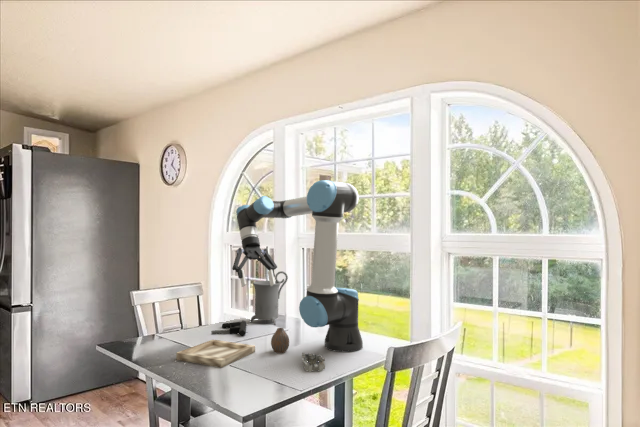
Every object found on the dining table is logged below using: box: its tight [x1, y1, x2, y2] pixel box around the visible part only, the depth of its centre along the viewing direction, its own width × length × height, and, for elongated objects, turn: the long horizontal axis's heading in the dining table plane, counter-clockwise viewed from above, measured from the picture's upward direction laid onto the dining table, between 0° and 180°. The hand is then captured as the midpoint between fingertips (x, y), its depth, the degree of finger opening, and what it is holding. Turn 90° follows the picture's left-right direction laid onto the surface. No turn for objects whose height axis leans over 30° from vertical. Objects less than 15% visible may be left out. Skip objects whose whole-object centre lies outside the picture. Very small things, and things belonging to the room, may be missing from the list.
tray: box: [175, 339, 256, 369], centre depth 160 cm, size 20×20×2 cm
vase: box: [270, 327, 290, 354], centre depth 166 cm, size 7×7×9 cm
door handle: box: [210, 320, 248, 337], centre depth 197 cm, size 3×20×16 cm
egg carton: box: [301, 352, 326, 372], centre depth 149 cm, size 11×8×4 cm
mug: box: [250, 271, 289, 326], centre depth 217 cm, size 19×15×25 cm
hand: (258, 285), depth 180 cm, fingers open, 13 cm apart
